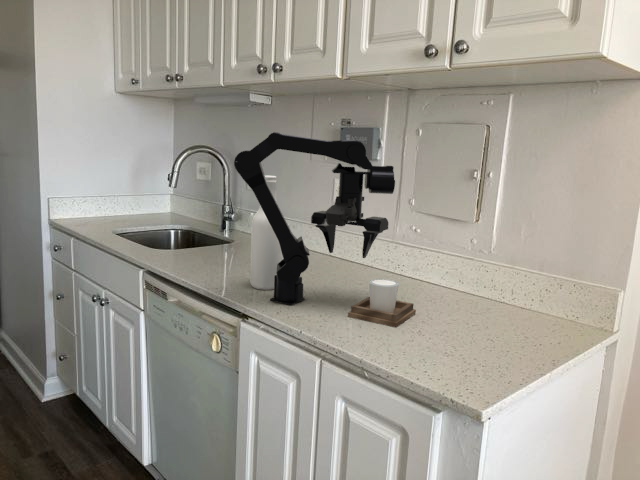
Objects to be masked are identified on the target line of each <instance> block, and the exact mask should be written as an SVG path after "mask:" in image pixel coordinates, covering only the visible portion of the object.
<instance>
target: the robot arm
mask: <svg viewBox="0 0 640 480" xmlns="http://www.w3.org/2000/svg"><path fill="white" fill-rule="evenodd" d="M277 150H284V151H289V152H291V151H292V152H295V153H296V152H297V153H304V154H311V155H317V156H323V157H327V158H331V159H334V160H337V161H340V162H343V163H345V164H349V165H352V166H344V165H342V164H341V163H340V162H338V163H337V165H336V166H335V167H334V168H332V170H331V173H333V174H339V179H338V180H339V185H338V196H336V197H335V201H334V204H333V205H331V206H330V207H329V208H328V209H327V210H321V211H320V210H319V211H314V212H313V213H312V214H311V217H310V223H311V224H314V225H315V228H318V229H319V230H320V232H322V234H323V236H324V239H325V243H326V246H327V249H328V252H329V254H332V253H334V249H335V240H336V239H335V238H336V231H337V230H336V229H337V227H345V226H346V225H350V226H357V227H363V228H364V230H363V231H362V235H363V243H362V244H363V245H362V258H363V259H365V258H367V256H368V253H369V252H370V249H371V247H372V245H373V244H374V241H375V240H376V238H377V237H378V235H379V234H382V233H383V232H384V231H386V230H389V220H388V219H387V218H386V217H381V216H379V217H378V216H370V217H366V218H364V212H363V213H362V207H363V205H362V204H363V203H362V202H364V201H365V196H363V191H364V190H363V188H364V189H366V190H368V193H369V194H384V195H385V194H386V195H387V194H389V195H392V194H394V192H395V187H396V186H395V185H396V179H395V172H394V169H395V168H394V166H393V165H384V166H383V165H373V164H372V162H371V161H370V160H369V158H368V157H367V156H366V155H367V149H366V146H365V145H364V144H363V142H362V141H360V140H357V139H346V140H325V139H316V138H311V137H303V136H298V135H297V136H296V135H290V134H283V133H280V132H275V131H274V132H271V133H270V134H269V135H268V136H267V137H266V138H265V139H264V140H262V141H261V142H259V143H258V144H257V145H255V146H254V147H253V148H252V149H250V150H243V151H240V152H239V153H237V155H236V156H235V158H234V161H233V165H234V169H235V170H236V172H237V173H238V174H239V176H240V177H241V178H242V179H243V181H244V182H245V183H246V184H247V186H248V187H249V188H250V189H251V190H252V192H253V193H254V194H253V195H254V196H255V198H256V200H257V201H258V204H259V207H260V206H261V208H262V210H263V211H264V213H265V215H266V217H267V219H268V221H269V223H270V225H271V227H272V229H273V231H274V233H275V235H276V237H277V239H278V241H279V244H280V248H281V251H282V255H283V260H282V261H280V262H279V263H278V264H277V275H275V276H274V289H273V297H270V299H269V300H270V302H273V303H274V302H275V303H279V304H283V305H288V306H294V305H295V304H297V303H300V302H302V301H304V300H305V299H306V298H305V297H304V283H303V276H301V275H302V273H304V272H305V271H307V269H308V267H309V265H310V260H309V256H311V254H310V250H309V248H308V247H307V246H306V244H305V243H304V239H303V236H302V235H301V236H300V237H298V238H297V237H296V236H295V234H293V232H292V230H291V228H290V227H289V225H288V222H287V221H286V218H285V217H284V215H283V212H282V211H281V209H280V207H279V204H278V202H277V203H276V201H275V199H274V197H273V195H272V193H271V191H270V189H269V187H268V185H267V182H266V179H265V172H264V169H263V166H262V162H263V161H264V160H265V159H267V158H268V157H269V156H271V155H272V154H273V153H275V152H276V151H277ZM355 165H356V166H357V167H359V168H360V169H362V170H367V171H360V170H358V171H356V168H355ZM363 185H364V187H363Z"/></svg>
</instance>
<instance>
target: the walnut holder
mask: <svg viewBox="0 0 640 480" xmlns="http://www.w3.org/2000/svg"><path fill="white" fill-rule="evenodd" d="M416 311H417V310H416V309H414V303H412V302H406V301H401V300H398V299H396V304H395V310H394V313H389V312H384V311H379V310H374V309H370V296H368V297H366V298H364V299H363V300H361V301H358V302H356V303H355V304H353V305H351V308H350V311H348V312H347V317H348V318H350V319H351V318H352V319H356V320H362V321H366V322H369V323H370V322H371V323H375V324H380V325H385V326H388V327H393V328H398V327H399V326H400V325H402V324H404V323H405V322H406V321H408V320H409V319H411V318H412V317H414V316H415V315H416Z"/></svg>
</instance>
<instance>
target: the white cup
mask: <svg viewBox="0 0 640 480" xmlns="http://www.w3.org/2000/svg"><path fill="white" fill-rule="evenodd" d="M368 285H369V297H370V309H374V310H379V311H384V312H389V313H394V310H395V304H396V300H397V297H398V291H399V282H397V280H392V279H386V278H384V279H383V278H374V279H371V280H369V284H368Z"/></svg>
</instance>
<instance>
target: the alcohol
mask: <svg viewBox="0 0 640 480" xmlns="http://www.w3.org/2000/svg"><path fill="white" fill-rule="evenodd" d="M264 175H265V174H264ZM277 178H278V177H277V176H276V175H265V179H266V182H267V185H268V187H269V189H270V191H271V193H272V195H273V197H274V199H275V201H276V203H277V204H278V200H277V199H278V196H277V194H278V193H277V183H278V181H277ZM250 224H251V225H250V226H251V227H250V228H251V233H250V235H251V236H250V273H249V274H250V281H249V284H250V285H251V286H252V288H254V289H257V290H265V291H271V290H274V276H275V275H277V264H278V263H279V262H280V261H282V260H283V259H284V258H283V255H282V251H281V248H280V244H279V241H278V239H277V237H276V235H275V233H274V231H273V229H272V227H271V225H270V223H269V221H268V219H267V217H266V215H265V213H264V211H263V210H262V208H261V206H260V205H259V207H258V210H257V212H256V213H255V214H254V215H253V217H252V219H251V223H250Z"/></svg>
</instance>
